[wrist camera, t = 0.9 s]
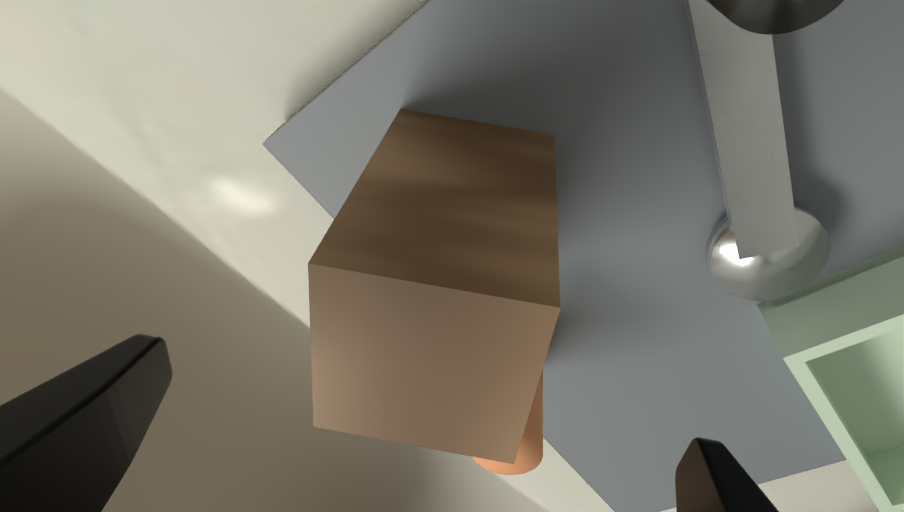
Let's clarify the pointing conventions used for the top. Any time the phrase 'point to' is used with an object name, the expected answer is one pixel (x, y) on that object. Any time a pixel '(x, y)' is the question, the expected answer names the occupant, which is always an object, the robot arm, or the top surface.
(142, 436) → the robot arm
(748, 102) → the crank
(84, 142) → the top surface
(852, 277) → the tray
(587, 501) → the top surface
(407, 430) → the block
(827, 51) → the plate
